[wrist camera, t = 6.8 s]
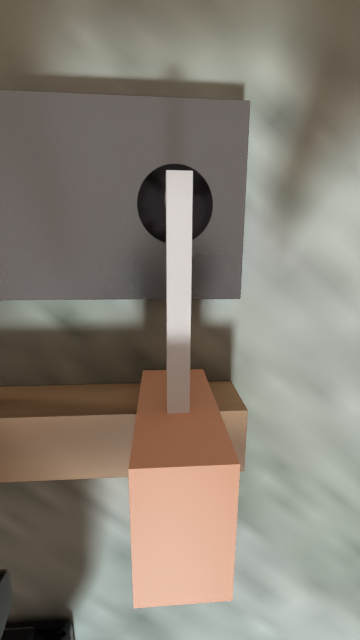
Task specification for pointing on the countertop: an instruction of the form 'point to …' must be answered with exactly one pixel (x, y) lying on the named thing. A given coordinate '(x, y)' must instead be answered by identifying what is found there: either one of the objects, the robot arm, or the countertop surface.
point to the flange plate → (117, 193)
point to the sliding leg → (181, 452)
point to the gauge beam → (86, 429)
